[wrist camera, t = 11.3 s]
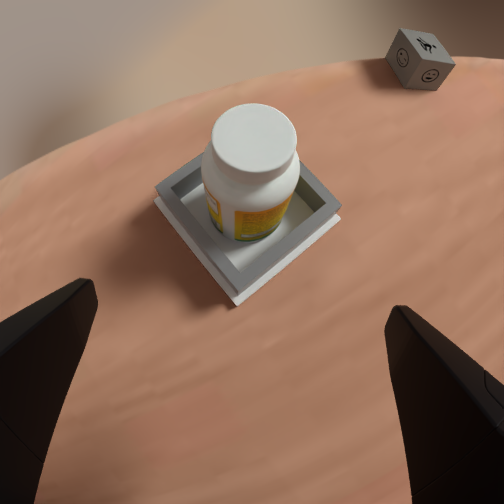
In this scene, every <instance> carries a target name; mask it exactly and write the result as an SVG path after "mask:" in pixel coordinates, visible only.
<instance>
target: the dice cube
mask: <svg viewBox="0 0 504 504" xmlns="http://www.w3.org/2000/svg"><path fill="white" fill-rule="evenodd" d="M385 58H386V60H387V61H388V63H389V65H390V66H391V68H392V69H393V71H394V72H395V74H396V76H397V77H398V79H399V81H400V82H401V84H402V86H403V87H404V88H405V89H422V90H435V91H437V89H438V88H439V87H440V85H441V84H442V83H443V81H444V80H445V79H446V77H447V76H448V74H449V73H450V72H451V70H452V69H453V68H454V66H455V65H456V64H455V63H454V61H453V60H452V58H451V57H450V56H449V54H448V53H447V51H446V50H445V49H444V48H443V46H442V45H441V44H440V42H439V41H438V40H437V38H436V37H435V36H434V35H433V34H429V33H424V32H419V31H413V30H408V29H401V28H400V29H399V31H398V33H397V35H396V37H395V39H394V41H393V43H392V45H391V47H390V49H389V51H388V53H387V55H386V57H385Z"/></svg>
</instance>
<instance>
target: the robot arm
mask: <svg viewBox="0 0 504 504" xmlns="http://www.w3.org/2000/svg"><path fill="white" fill-rule="evenodd" d="M97 308H98V299H97V295H96V291H95V287H94V283H93V281H92V280H91V279H85V278H79V279H77V280H75V281H73V282H71V283H69V284H67V285H66V286H64V287H62V288H60V289H58V290H56V291H55V292H53V293H51V294H49V295H47V296H45V297H44V298H42V299H40V300H38V301H36V302H35V303H33V304H31V305H29V306H28V307H26V308H24V309H22V310H21V311H19V312H17V313H15V314H14V315H12V316H10V317H8V318H7V319H5V320H3V321H2V322H0V504H34V500H35V496H36V492H37V488H38V484H39V480H40V476H41V473H42V469H43V465H44V464H43V463H44V461H45V458H46V455H47V451H48V448H49V445H50V441H51V438H52V435H53V432H54V429H55V426H56V423H57V420H58V417H59V414H60V412H61V409H62V406H63V403H64V400H65V398H66V395H67V392H68V390H69V387H70V384H71V382H72V379H73V377H74V374H75V371H76V369H77V366H78V364H79V362H80V359H81V357H82V354H83V352H84V349H85V346H86V343H87V340H88V337H89V333H90V330H91V327H92V324H93V321H94V317H95V314H96V311H97ZM384 333H385V340H386V347H387V355H388V363H389V371H390V377H391V382H392V386H393V391H394V395H395V400H396V405H397V410H398V415H399V420H400V425H401V430H402V436H403V441H404V447H405V453H406V459H407V466H408V473H409V480H410V487H411V495H412V504H504V385H503V384H502V383H500V382H499V381H498V380H497V379H496V378H494V377H493V376H492V375H491V374H490V373H489V372H488V371H486V370H484V368H483V367H482V366H480V365H479V364H478V363H477V362H476V361H475V360H473V359H472V358H471V357H470V356H469V355H467V354H466V353H465V352H464V351H463V350H461V349H460V348H459V347H458V346H457V345H455V344H454V343H453V342H452V341H450V340H449V339H448V338H447V337H446V336H444V335H443V334H442V333H441V332H439V331H438V330H437V329H436V328H434V327H433V326H432V325H431V324H429V323H428V322H427V321H426V320H424V319H423V318H422V317H421V316H419V315H418V314H417V313H416V312H414V311H413V310H412V309H411V308H409V307H408V306H405V305H396V306H394V307H393V308H392V311H391V313H390V315H389V318H388V320H387V323H386V325H385V330H384Z"/></svg>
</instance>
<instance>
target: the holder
mask: <svg viewBox="0 0 504 504" xmlns="http://www.w3.org/2000/svg"><path fill="white" fill-rule="evenodd" d="M203 153H204V152H203ZM203 153H201V154H200V155H199V156H197V157H196V158H194V159H193V160H191V161H190V162H188V163H187V164H185V165H184V166H183V167H181V168H180V169H178V170H177V171H176V172H174V173H173V174H171V175H170V176H169V177H167V178H166V179H164V180H163V181H162V182H160V183H159V184H158V185H156V186H155V188H156V190H157V192H158V194H159V196H158V197H157V198H156V199H154V200H153V201H154V202H155V204H156V205H157V207H158V208H159V209H160V210H161V212H162V213H163V214H164V216H165V217H166V218H167V220H168V221H169V222H170V223H171V225H172V226H173V227H174V229H175V230H176V231H177V233H178V234H179V235H180V236H181V238H182V239H183V240H184V241H185V243H186V244H187V245H188V247H189V248H190V249H191V250H192V252H193V253H194V254H195V255H196V257H197V258H198V259H199V260H200V262H201V263H202V264H203V265H204V267H205V268H206V269H207V270H208V272H209V273H210V274H211V275H212V277H213V278H214V279H215V280H216V282H217V283H218V284H219V285H220V286H221V288H222V289H223V290H224V291H225V293H226V294H227V295H228V296H229V297H230V299H231V300H232V301H233V302H234V303H235V305H236V306H237V307H238V306H239V305H240V304H241V303H243V302H244V301H245V300H246V299H247V298H249V297H250V296H251V295H252V294H253V293H255V292H256V291H257V290H258V289H260V288H261V287H262V286H263V285H264V284H266V283H267V282H268V281H269V280H270V279H272V278H273V277H274V276H275V275H276V274H278V273H279V272H280V271H281V270H282V269H284V268H285V267H286V266H287V265H288V264H290V263H291V262H292V261H293V260H294V259H296V258H297V257H298V256H299V255H300V254H301V253H303V252H304V251H305V250H306V249H307V248H309V247H310V246H311V245H312V244H313V243H314V242H316V241H317V240H318V239H319V238H320V237H321V236H323V235H324V234H325V233H326V232H327V231H328V230H330V229H331V228H332V227H333V226H334V225H335V224H337V223H338V222H339V221H340V220H341V218H340V217H339V216H338V215H337V214H336V212H337V211H338V210H339V209H340V207H341V206H342V205H341V204H340V202H339V201H338V200H337V199H336V198H335V197H334V196H333V195H332V194H331V193H330V192H329V190H328V189H327V188H326V187H325V186H324V185H323V184H322V183H321V182H320V181H319V180H318V179H317V178H316V177H315V176H314V175H313V174H312V173H311V172H310V170H309V169H308V168H307V167H306V166H305V165H304V164H303V163H302V162H301V161H300V160H299V162H300V174H299V179H298V182H297V185H296V187H295V190H294V192H293V194H292V197H291V199H290V202H289V204H288V207H287V209H286V211H285V214H284V216H283V218H282V221H281V223H280V224H279V226H278V228H277V229H276V230H275V231H274V232H273V233H272V234H271V235H270V236H268V237H267V238H265V239H263V240H260V241H257V242H252V243H239V242H235V241H232V240H230V239H228V238H226V237H225V236H223V235H222V234H221V233H220V232H219V231H218V230H217V229H216V228H215V226H214V225H213V223H212V221H211V218H210V215H209V211H208V206H207V201H206V195H205V191H204V185H203V180H202V173H201V162H202V157H203Z"/></svg>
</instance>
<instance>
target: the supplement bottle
mask: <svg viewBox="0 0 504 504" xmlns="http://www.w3.org/2000/svg"><path fill="white" fill-rule="evenodd" d="M296 145H297V137H296V131H295V129H294V126H293V124H292V123H291V121H290V120H289V119H288V118H287V117H286V116H285V115H284V114H283V113H282V112H280V111H279V110H277V109H275V108H273V107H270V106H267V105H263V104H242V105H238V106H235V107H233V108H231V109H229V110H227V111H226V112H225V113H223V114H222V115H221V116H220V117H219V118H218V119H217V121H216V122H215V124H214V126H213V129H212V133H211V141H210V142H209V144H208V145H207V147H206V149H205V151H204V153H203V157H202V162H201V173H202V180H203V185H204V191H205V195H206V201H207V206H208V211H209V215H210V218H211V221H212V223H213V225H214V226H215V228H216V229H217V230H218V231H219V232H220V233H221V234H222V235H223V236H225V237H226V238H228V239H230V240H232V241H235V242H239V243H252V242H257V241H260V240H263V239H265V238H267V237H268V236H270V235H271V234H272V233H273V232H274V231H275V230H276V229H277V228H278V226H279V224H280V223H281V221H282V218H283V216H284V214H285V211H286V209H287V207H288V204H289V202H290V199H291V197H292V194H293V192H294V190H295V187H296V185H297V182H298V179H299V174H300V162H299V158H298V154H297V152H296V150H295V149H296Z"/></svg>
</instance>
